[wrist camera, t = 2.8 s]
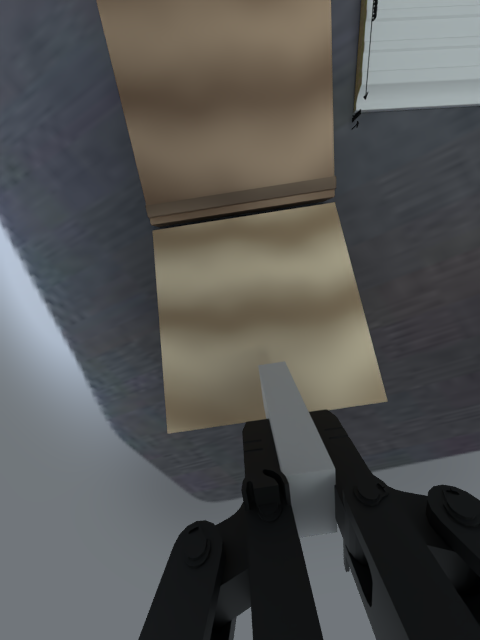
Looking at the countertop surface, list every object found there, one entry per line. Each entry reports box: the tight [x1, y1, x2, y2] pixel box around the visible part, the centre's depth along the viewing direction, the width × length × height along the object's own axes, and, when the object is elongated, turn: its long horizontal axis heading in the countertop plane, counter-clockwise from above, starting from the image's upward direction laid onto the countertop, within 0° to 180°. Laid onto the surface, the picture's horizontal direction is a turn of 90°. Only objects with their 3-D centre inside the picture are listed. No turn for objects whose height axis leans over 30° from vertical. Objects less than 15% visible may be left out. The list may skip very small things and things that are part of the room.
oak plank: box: [153, 202, 387, 434], centre depth 17 cm, size 14×14×2 cm
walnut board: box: [96, 0, 336, 227], centre depth 16 cm, size 15×14×2 cm
